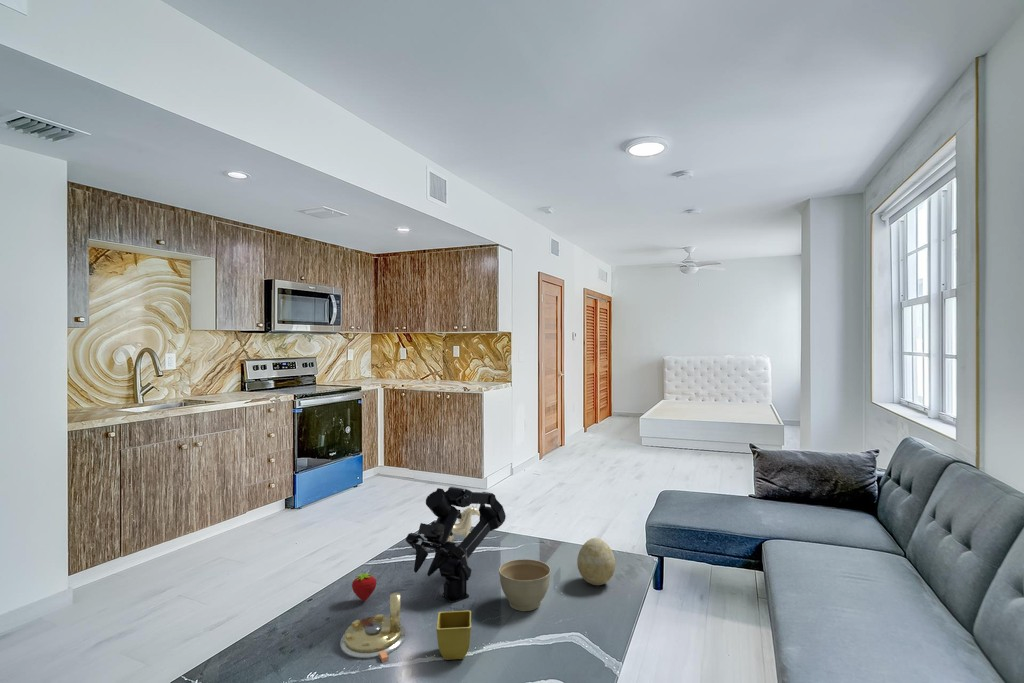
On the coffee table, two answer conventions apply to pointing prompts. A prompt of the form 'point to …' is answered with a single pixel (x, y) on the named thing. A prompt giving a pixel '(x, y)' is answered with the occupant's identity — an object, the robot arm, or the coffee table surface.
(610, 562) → the fossilized egg
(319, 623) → the coffee table surface
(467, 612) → the flower pot
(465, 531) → the unicorn
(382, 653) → the tab
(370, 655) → the base plate
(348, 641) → the crank disc
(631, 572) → the coffee table surface
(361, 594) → the strawberry
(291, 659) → the coffee table surface
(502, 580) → the planter bowl
